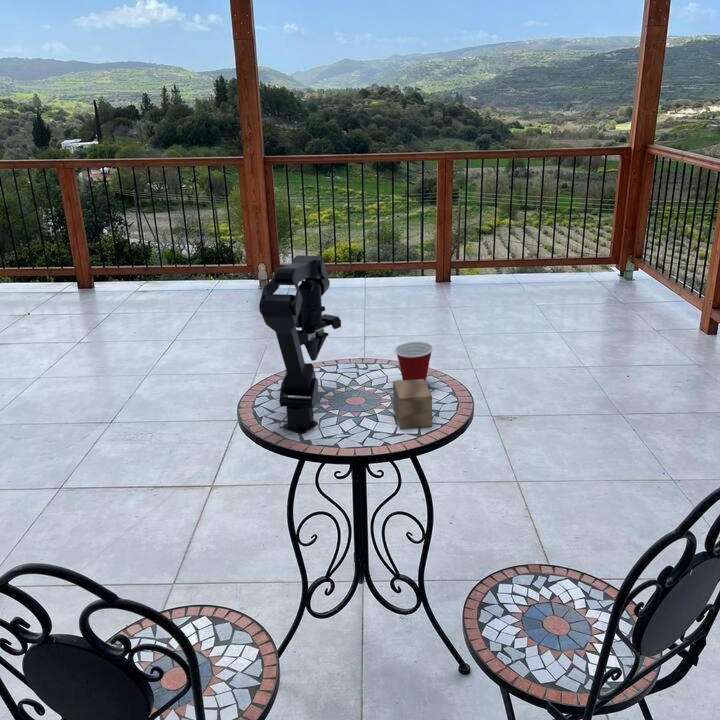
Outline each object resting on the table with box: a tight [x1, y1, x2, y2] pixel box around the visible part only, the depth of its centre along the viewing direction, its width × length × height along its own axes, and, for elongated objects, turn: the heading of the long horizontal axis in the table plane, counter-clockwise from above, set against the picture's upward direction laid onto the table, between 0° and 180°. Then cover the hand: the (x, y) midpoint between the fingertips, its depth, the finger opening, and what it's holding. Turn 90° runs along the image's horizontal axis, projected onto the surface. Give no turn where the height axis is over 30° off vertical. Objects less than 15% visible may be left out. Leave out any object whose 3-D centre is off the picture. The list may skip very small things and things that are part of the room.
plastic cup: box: [393, 341, 434, 383], centre depth 190 cm, size 11×11×12 cm
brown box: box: [392, 379, 433, 429], centre depth 172 cm, size 8×11×8 cm
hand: (313, 360), depth 180 cm, fingers closed
